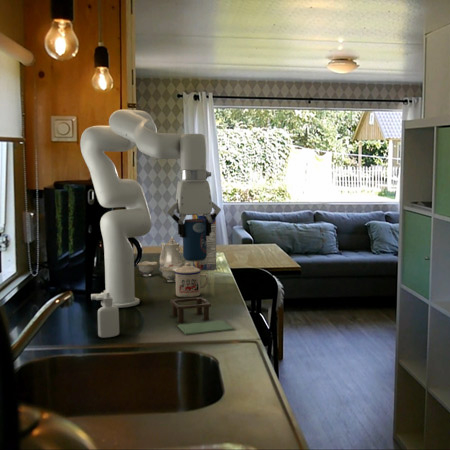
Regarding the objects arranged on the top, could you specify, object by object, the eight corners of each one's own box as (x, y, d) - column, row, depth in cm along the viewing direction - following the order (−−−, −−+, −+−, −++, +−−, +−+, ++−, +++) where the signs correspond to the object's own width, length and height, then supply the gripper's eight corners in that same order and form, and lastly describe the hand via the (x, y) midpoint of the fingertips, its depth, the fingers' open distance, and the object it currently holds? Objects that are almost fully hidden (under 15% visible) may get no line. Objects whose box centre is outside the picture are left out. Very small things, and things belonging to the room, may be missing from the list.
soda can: (207, 261, 189) (207, 220, 188) (183, 262, 188) (183, 221, 187) (206, 257, 196) (205, 218, 195) (182, 258, 195) (182, 219, 193)
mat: (185, 334, 179) (185, 333, 179) (177, 326, 189) (177, 324, 189) (233, 329, 185) (233, 328, 184) (223, 321, 194) (223, 320, 194)
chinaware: (130, 279, 268) (125, 240, 265) (161, 270, 281) (157, 232, 277) (174, 288, 250) (169, 246, 247) (205, 278, 262) (201, 238, 259)
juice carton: (192, 266, 292) (192, 213, 289) (209, 265, 294) (208, 212, 292) (199, 270, 280) (199, 215, 278) (216, 269, 283) (215, 214, 281)
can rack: (178, 323, 192) (177, 306, 191) (170, 315, 201) (170, 299, 200) (211, 320, 195) (211, 303, 195) (202, 312, 205) (201, 297, 204)
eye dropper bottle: (99, 334, 180) (97, 291, 179) (119, 333, 181) (118, 291, 180) (97, 338, 176) (96, 295, 174) (118, 337, 177) (117, 294, 175)
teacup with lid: (177, 298, 225) (176, 265, 224) (173, 293, 234) (172, 261, 232) (211, 296, 228) (210, 263, 227) (206, 291, 237) (205, 259, 236)
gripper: (218, 175, 196) (219, 233, 198) (161, 176, 189) (162, 236, 191) (226, 176, 189) (226, 236, 191) (167, 177, 183) (168, 239, 184)
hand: (194, 236), depth 191 cm, fingers closed on soda can, 7 cm apart
